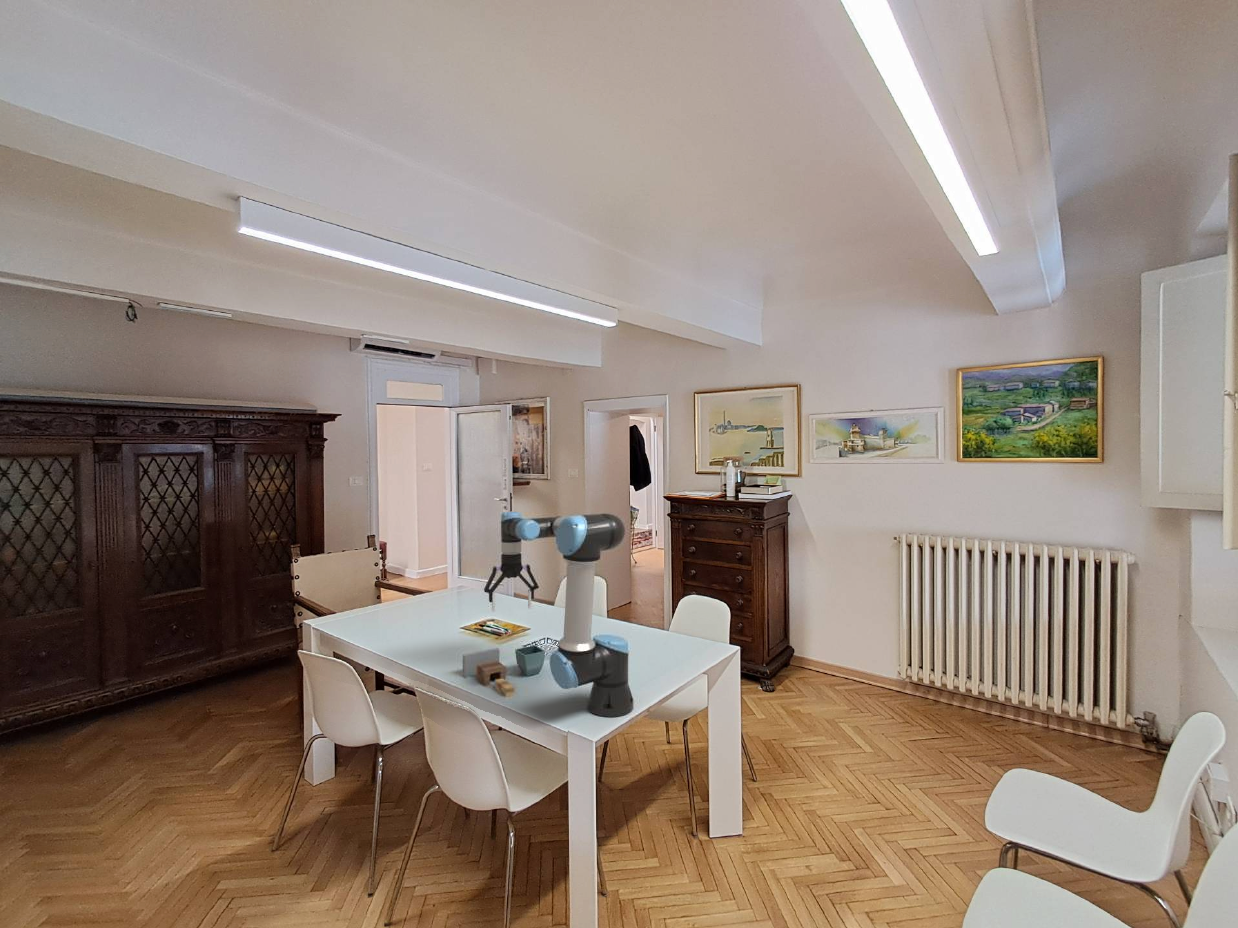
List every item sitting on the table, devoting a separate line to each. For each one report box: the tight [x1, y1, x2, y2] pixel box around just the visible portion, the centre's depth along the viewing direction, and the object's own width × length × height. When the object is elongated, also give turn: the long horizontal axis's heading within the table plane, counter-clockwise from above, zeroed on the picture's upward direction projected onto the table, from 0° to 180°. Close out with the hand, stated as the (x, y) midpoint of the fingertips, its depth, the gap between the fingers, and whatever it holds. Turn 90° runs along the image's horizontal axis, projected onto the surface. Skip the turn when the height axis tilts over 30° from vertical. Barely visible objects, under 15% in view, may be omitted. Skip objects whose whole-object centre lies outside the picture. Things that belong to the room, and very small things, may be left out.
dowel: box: [494, 678, 515, 698], centre depth 201 cm, size 10×3×3 cm, turn 36°
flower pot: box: [514, 645, 546, 677], centre depth 218 cm, size 9×9×9 cm
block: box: [476, 660, 507, 687], centre depth 211 cm, size 8×8×6 cm
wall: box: [462, 647, 500, 678], centre depth 219 cm, size 2×14×8 cm, turn 125°
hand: (511, 609), depth 215 cm, fingers open, 13 cm apart
